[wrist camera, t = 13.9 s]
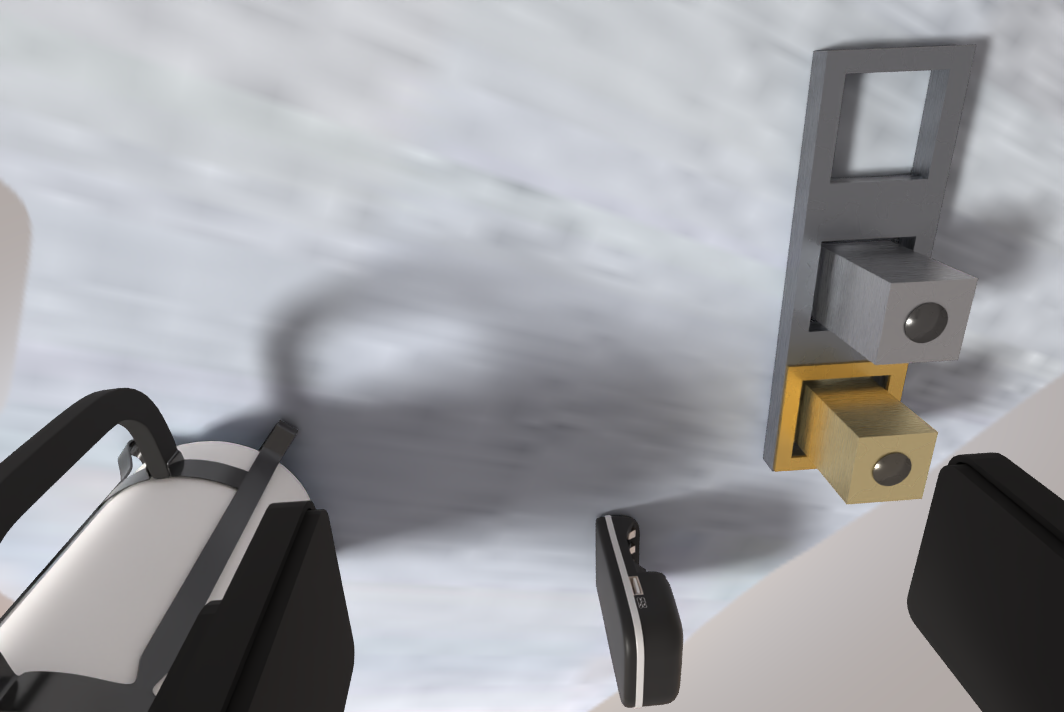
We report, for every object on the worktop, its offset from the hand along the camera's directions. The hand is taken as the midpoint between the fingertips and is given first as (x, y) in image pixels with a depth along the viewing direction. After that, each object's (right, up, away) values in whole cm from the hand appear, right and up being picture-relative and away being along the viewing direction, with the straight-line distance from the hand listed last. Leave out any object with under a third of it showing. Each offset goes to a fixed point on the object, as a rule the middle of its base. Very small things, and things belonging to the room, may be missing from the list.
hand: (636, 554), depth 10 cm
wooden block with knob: (+18, 0, +35) cm, 39 cm away
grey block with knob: (+18, +8, +31) cm, 37 cm away
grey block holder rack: (+18, +8, +31) cm, 37 cm away
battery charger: (+5, -11, +39) cm, 41 cm away
